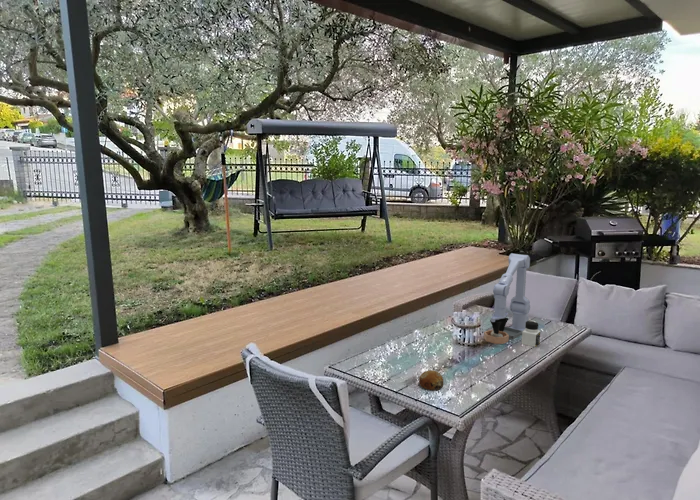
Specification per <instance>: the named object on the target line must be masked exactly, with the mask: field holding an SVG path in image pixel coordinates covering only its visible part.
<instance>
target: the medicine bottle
mask: <svg viewBox="0 0 700 500" xmlns="http://www.w3.org/2000/svg"><path fill="white" fill-rule="evenodd" d="M540 341H541V330H539V323H538V322H537V321H535V320H528V321H527V322H526V326H525V330H523V332H522V335H521V345H525V346H529V347H534V348H536V347H538V346H539V345H540Z"/></svg>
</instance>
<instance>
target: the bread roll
mask: <svg viewBox="0 0 700 500" xmlns="http://www.w3.org/2000/svg"><path fill="white" fill-rule="evenodd" d="M418 382H419V383H418V384H419V385H420V387H421V388H423V389H425V390H426V391H427V390H428V391H439V390H441V388H443V386H444V384H445V383H444V377H443V375H442V374H441V373H440V372H439V371H436V370H432V369H429V370H425V371H423V372H422V373H421V374H420V376H419V377H418Z"/></svg>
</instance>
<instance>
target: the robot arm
mask: <svg viewBox="0 0 700 500" xmlns="http://www.w3.org/2000/svg"><path fill="white" fill-rule="evenodd" d="M507 260H508V267H507V269H506V272H505V273H503V274H501V277H500V279H499V281H498V283H496V284H494V286H493V288H492V292H493V293H492V294H493V298H494V307H493V308H494V309H493V313H492V314H491V317H490V319H489V322H490V323H491V326H492V330H493V331H494V333H495V334H498V333H499V331H502V332H503V331H504V328H505V326H506V325H507V323H508V321H509V318H508V317H509V312H507V311H506V310H507V296H509V293H510V288H511V287H510V286H511V284H512V282H513V280H514V277H513V276H514V275H515V273H516V281H515V282H516V283H515V296H514V297H512V298H511V299H510V303H509V311H511V314H512V318H511V320H512V321H511V325H510V326H509V327H510V328H513V329H517V330H521V331H524V330H525V326H526V322H527V321H529V313H530V311H531V304H530V303H531V301H530V299H528V298H527V297H526V282H527V281H526V279H527V269H530V265H531V257H530V255H528V254H520V253H519V254H518V253H513V252H511V253H510V254H509V256H508V259H507Z"/></svg>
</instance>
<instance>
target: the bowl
mask: <svg viewBox="0 0 700 500" xmlns="http://www.w3.org/2000/svg"><path fill="white" fill-rule="evenodd" d="M492 331H493V329H487V330H486V331H484V332H483V340H484V341H485V342H488V343H492V344H497V345H498V344H499V345H500V344H501V345H502V344H503V345H504V344H506V343H508V342H509V340H510V339H509V335H508V334H507V333H506V332H502V331H499V333H500V334H502V335H503V337H493V336H491V332H492Z"/></svg>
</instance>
